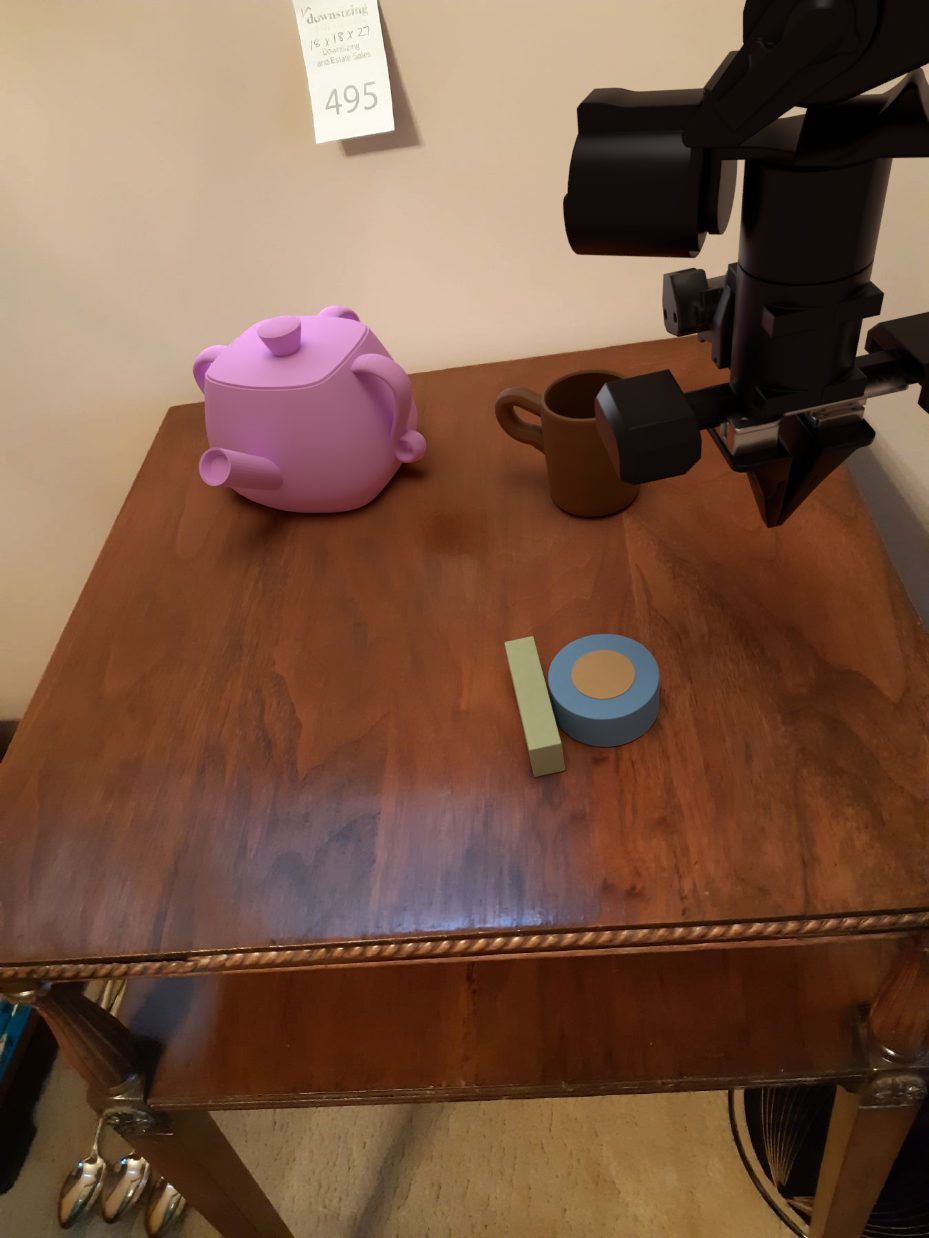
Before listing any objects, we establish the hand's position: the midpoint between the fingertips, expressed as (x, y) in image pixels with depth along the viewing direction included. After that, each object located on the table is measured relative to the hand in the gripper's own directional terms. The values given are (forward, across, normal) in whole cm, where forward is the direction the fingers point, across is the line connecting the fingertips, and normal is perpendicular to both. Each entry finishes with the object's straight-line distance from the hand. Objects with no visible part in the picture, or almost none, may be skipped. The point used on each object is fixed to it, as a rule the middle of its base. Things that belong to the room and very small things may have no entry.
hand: (771, 522), depth 49 cm
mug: (+11, +8, -21) cm, 25 cm away
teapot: (+11, +30, -31) cm, 45 cm away
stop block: (+11, +16, +2) cm, 19 cm away
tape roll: (+11, +11, +2) cm, 16 cm away
